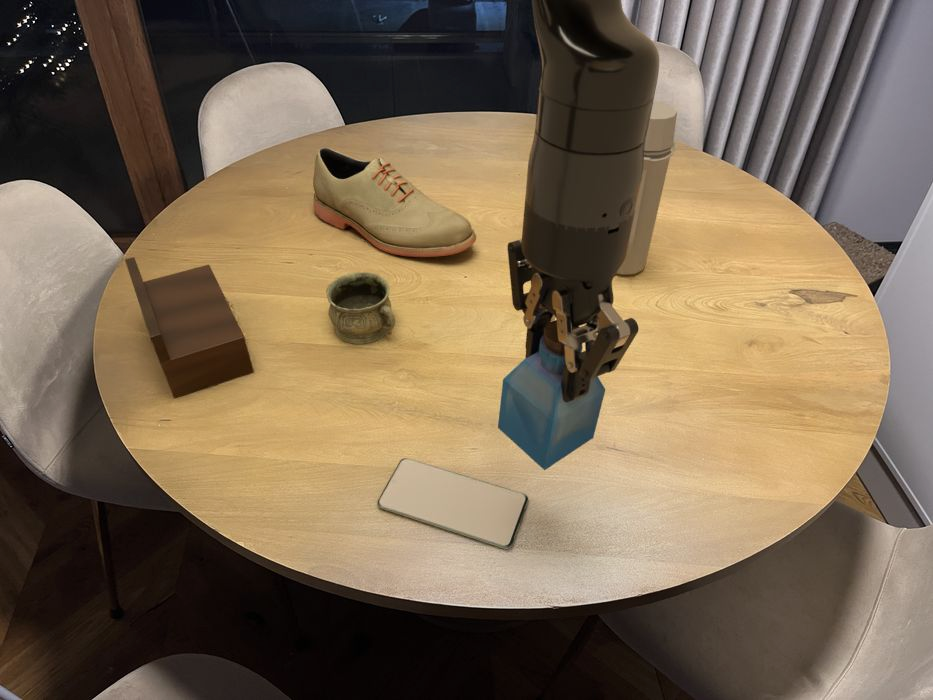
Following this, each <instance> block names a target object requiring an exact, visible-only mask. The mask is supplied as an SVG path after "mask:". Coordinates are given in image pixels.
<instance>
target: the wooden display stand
mask: <svg viewBox="0 0 933 700" xmlns="http://www.w3.org/2000/svg"><path fill="white" fill-rule="evenodd" d="M124 262H125V265H126V268H127V271H128V274H129V277H130V280H131V283H132V286H133V289H134V293H135V295H136V299H137V301H138V305H139V307H140V311H141V314H142V317H143V320H144V323H145V327H146V329H147V333H148V336H149V338H150V341H151V343H152V346H153V348H154V351H155V354H156V357H157V359H158V361H159V364H160V367H161V369H162V371H163V375H164V377H165V379H166V382H167V385H168V387H169V389H170V393H171V394H172V398H173V399H177V398H180V397H183V396H185V395H190V394H192V393H195V392H198V391H200V390H203V389H207V388H209V387H213V386H217V385H219V384H223V383H225V382H228V381H232V380H234V379H237V378H240V377H243V376H246V375H249V374H252V373H254V367H253V364H252V360H251V356H250V354H249V349H248V346H247V342H246V338H245V335H244V333H243V331H242V329H241V326H240V325H239V322H238V321H237V319H236V317H235V314H234V312H233V311H232V309H231V306H230V305H229V302H228V300H227V298H226V296H225V294H224V292H223V290H222V288H221V286H220V284H219V282H218V280H217V277H216V276H215V275H216V274H215V273H214V271H213V270H212V266H211V265H210V264H205V265H202V266H198V267H195V268H191V269H190V268H189V269H186V270H183V271H179V272H175V273H171V274H168V275H164V276H160V277H156V278H153V279H149V280H144V279H143V276H142V273H141V271H140V268H139V266H138V263H137V260H136V258H135V257H134V256H132V257H129V258H125V259H124Z"/></svg>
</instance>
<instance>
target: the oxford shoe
mask: <svg viewBox="0 0 933 700" xmlns="http://www.w3.org/2000/svg"><path fill="white" fill-rule="evenodd" d="M315 155H316V156H315V159H314V171H313V177H312V178H313V180H312V187H313V192H314V193H313V200H312V203H313V205H312V206H313V211H314V214H316V216H317V217H318V218H320V219H321V220H322V221H324V222H326V223H328V224H329V225H331V226H333V227H336V228H338V229H340V230H345V229H349V227H352V228H353V229H354V230H356V231H357V232H358V233H359V234H360V235H362V236H363V237H364V238H365V239H366V240H367V241H368V242H369V243H370V244H372V245H373V246H374V247H376V248H377V249H379V250H381V251H382V252H385V253H389V254H391V255H396V256H403V257H410V258H411V257H412V258H413V257H414V258H431V257H432V258H434V257H443V256H444V257H445V256H452V255H456V254H459V253H461V252H465V251H467V250H468V249H469V248H470V247H472V246H473V245H474V244H475V243H476V241H477V235H476V232H475V230H474V229H473V228H472V225H471V222H470V221H469V220H468V218H466V217H465V216H464V215H462V214H460V213H458V212H457V211H454V210H452V209H450V208H448V207H446V206H444V205H441V204H439V203H438V202H437V201H434V200H433V199H431V198H430V197H428V196H427V195H426V194H425V193H424V192H423V191H421V189H418V187H416V186H415V185H414V184H413V183H412V182H410V181H409V180H408V179H407V178H406V177H405V176H404V175H403V174H402V173H400V172H399V171H398V170H397V169H396V168H394V167H393V165H392V164H391V163H390V162H388V161H387V160H386V159H385V158H383V157H379V158H374V159H373V160H361V159H357V158H355V157H352V156H349V155H347V154H344V153H342V152H340V151H337V150H334V149H332V148H329V147H321V148H319V149H318V150H317V152H316V154H315Z"/></svg>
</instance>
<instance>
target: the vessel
mask: <svg viewBox="0 0 933 700" xmlns="http://www.w3.org/2000/svg"><path fill="white" fill-rule="evenodd" d="M325 292H326V299H327V301H328V303H329V307H328V317H329V320H330V322H331V324H332V325H333V326H334V327H335V332H336V334H337V337H338V338H340V339H341V340H342V341H344V342H347V343H349V344H350V343H351V344H357V345H358V344H359V345H365V344H369V343H370V344H371V343H373V342H376V341H379V340H380V339H382V338H383V337H384V336H385V335H386V336H392V333H393V332H392V331H393V329H394V328H395V326H396V317H395V315H394V313H393V311H392V302H391V300H390V297H389V295H390V284H389V282H388V280H387V279H386V278H384V277H383V276H381V275H380V274H377V273H373V272H367V271H366V272H365V271H358V272H353V273H347V274H343V275H341V276H339V277H337V278H335V279H333V281H331V283H329V284H328V286H327V287H326V291H325ZM389 322H390V323H389Z"/></svg>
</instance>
